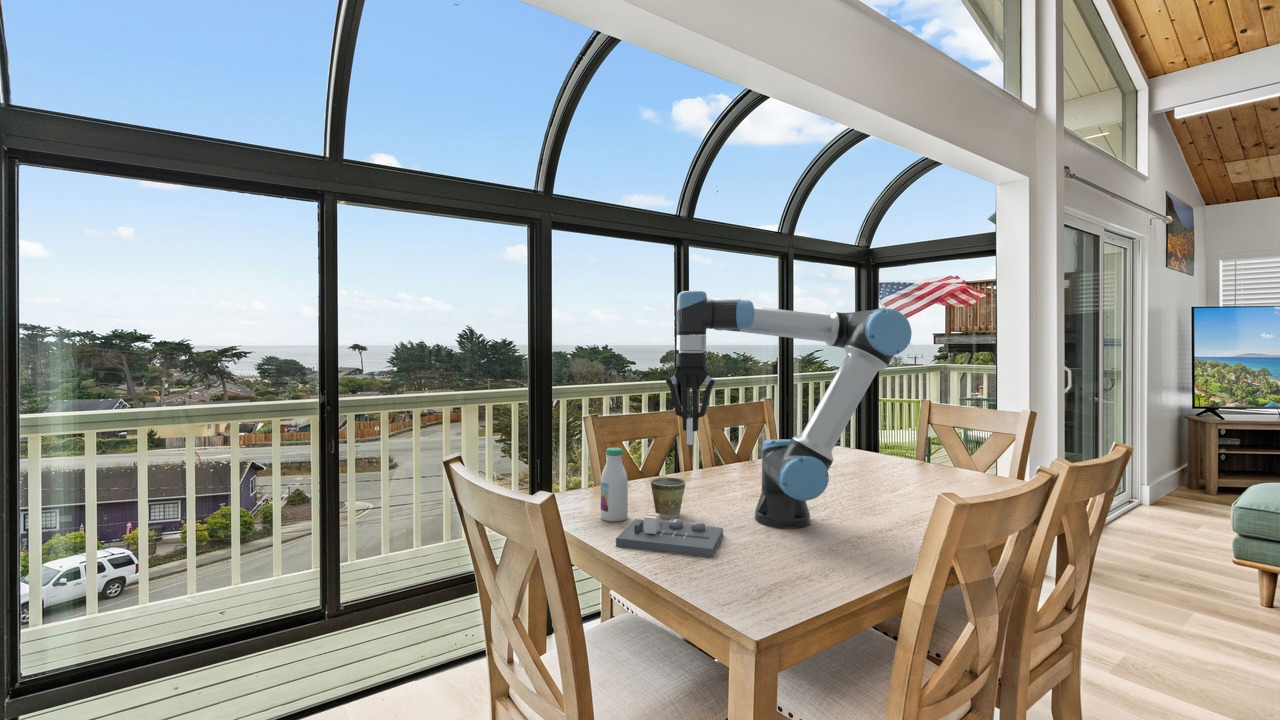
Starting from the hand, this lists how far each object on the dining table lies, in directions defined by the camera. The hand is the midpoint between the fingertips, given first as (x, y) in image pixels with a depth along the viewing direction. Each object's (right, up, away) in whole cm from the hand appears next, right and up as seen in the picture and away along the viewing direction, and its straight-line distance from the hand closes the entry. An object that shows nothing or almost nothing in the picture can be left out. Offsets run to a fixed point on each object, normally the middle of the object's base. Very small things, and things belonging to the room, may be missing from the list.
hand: (690, 443), depth 150 cm
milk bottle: (-20, -24, +17) cm, 36 cm away
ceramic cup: (-4, -24, +21) cm, 32 cm away
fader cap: (-10, -22, -1) cm, 24 cm away
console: (-5, -24, -2) cm, 25 cm away
